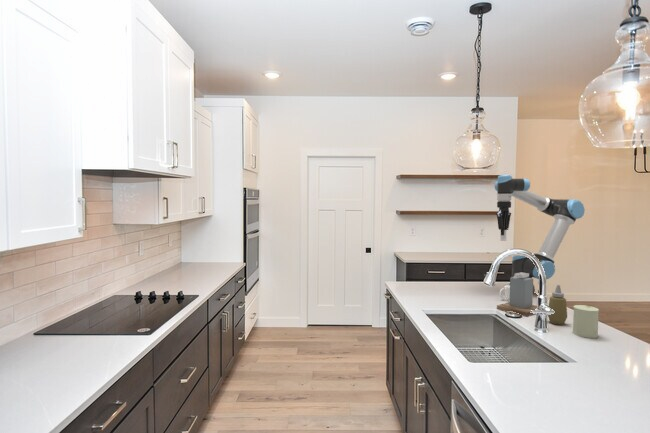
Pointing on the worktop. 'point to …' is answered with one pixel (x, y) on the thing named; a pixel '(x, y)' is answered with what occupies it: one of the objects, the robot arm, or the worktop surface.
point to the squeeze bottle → (558, 307)
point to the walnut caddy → (516, 309)
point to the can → (585, 321)
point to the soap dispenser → (521, 292)
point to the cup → (506, 292)
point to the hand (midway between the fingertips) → (503, 240)
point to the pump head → (521, 275)
